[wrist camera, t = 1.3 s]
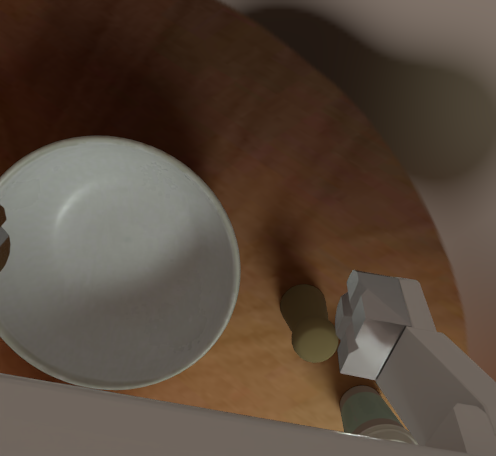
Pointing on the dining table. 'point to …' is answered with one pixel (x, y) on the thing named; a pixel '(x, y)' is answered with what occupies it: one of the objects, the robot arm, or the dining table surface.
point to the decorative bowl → (113, 263)
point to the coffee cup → (371, 416)
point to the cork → (309, 323)
